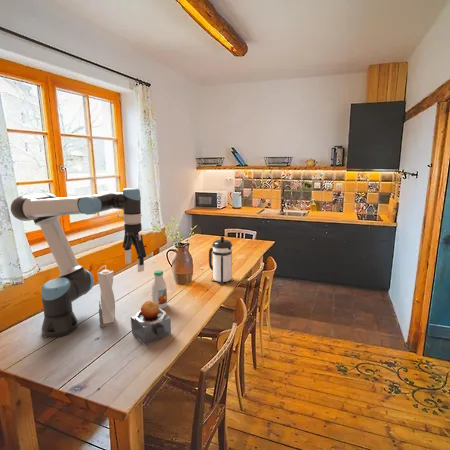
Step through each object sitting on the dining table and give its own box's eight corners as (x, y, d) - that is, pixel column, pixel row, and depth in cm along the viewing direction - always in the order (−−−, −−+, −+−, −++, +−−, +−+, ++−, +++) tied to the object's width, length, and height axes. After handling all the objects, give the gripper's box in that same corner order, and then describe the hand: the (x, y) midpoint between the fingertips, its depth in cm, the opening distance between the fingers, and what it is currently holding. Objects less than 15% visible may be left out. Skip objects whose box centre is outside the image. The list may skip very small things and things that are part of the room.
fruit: (149, 307, 149) (154, 296, 145) (158, 319, 145) (164, 308, 141) (134, 313, 143) (139, 302, 139) (144, 326, 139) (149, 315, 135)
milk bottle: (153, 310, 165) (151, 274, 161) (152, 303, 173) (150, 269, 168) (167, 308, 167) (166, 273, 163) (166, 302, 175) (165, 268, 170)
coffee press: (234, 276, 213) (234, 233, 206) (232, 286, 197) (233, 239, 191) (209, 275, 214) (208, 233, 208) (205, 284, 199) (205, 239, 192)
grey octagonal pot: (147, 347, 133) (146, 327, 131) (131, 332, 144) (130, 314, 143) (173, 336, 142) (173, 317, 140) (156, 322, 153) (156, 305, 151)
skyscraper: (99, 318, 157) (95, 265, 151) (116, 315, 160) (113, 263, 154) (99, 326, 150) (94, 271, 144) (117, 323, 152) (113, 269, 147)
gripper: (153, 226, 135) (154, 273, 139) (129, 217, 153) (131, 258, 158) (136, 228, 130) (138, 277, 135) (114, 218, 149) (116, 261, 153)
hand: (134, 267), depth 146 cm, fingers open, 13 cm apart
